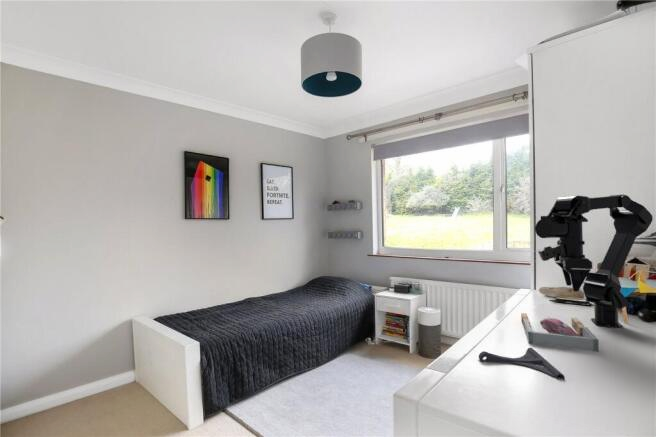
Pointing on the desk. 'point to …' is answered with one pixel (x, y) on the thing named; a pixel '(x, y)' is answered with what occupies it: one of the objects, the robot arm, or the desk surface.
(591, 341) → the grey u-shaped frame
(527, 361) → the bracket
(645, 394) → the desk surface
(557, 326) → the video game controller
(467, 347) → the desk surface
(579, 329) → the pair of wooden bars
